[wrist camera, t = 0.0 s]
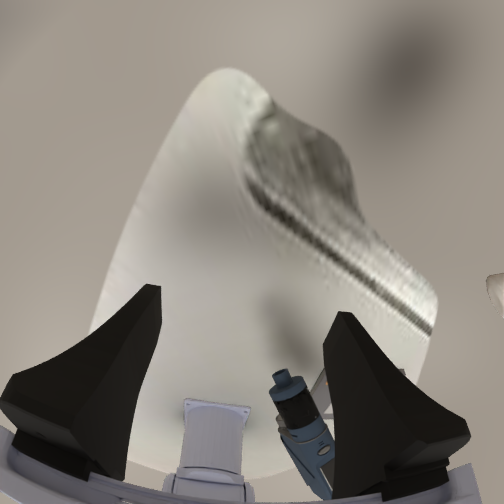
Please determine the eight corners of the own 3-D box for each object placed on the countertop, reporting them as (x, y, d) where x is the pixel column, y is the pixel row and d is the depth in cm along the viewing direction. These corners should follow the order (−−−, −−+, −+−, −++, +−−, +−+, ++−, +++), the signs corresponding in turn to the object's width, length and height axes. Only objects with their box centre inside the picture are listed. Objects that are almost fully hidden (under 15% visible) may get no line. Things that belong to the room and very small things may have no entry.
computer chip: (367, 413, 35) (368, 419, 34) (297, 413, 34) (297, 420, 33) (403, 369, 29) (406, 375, 29) (324, 367, 29) (325, 375, 28)
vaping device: (337, 513, 14) (268, 384, 16) (306, 488, 19) (244, 376, 21) (365, 492, 15) (305, 363, 17) (330, 472, 20) (274, 360, 22)
